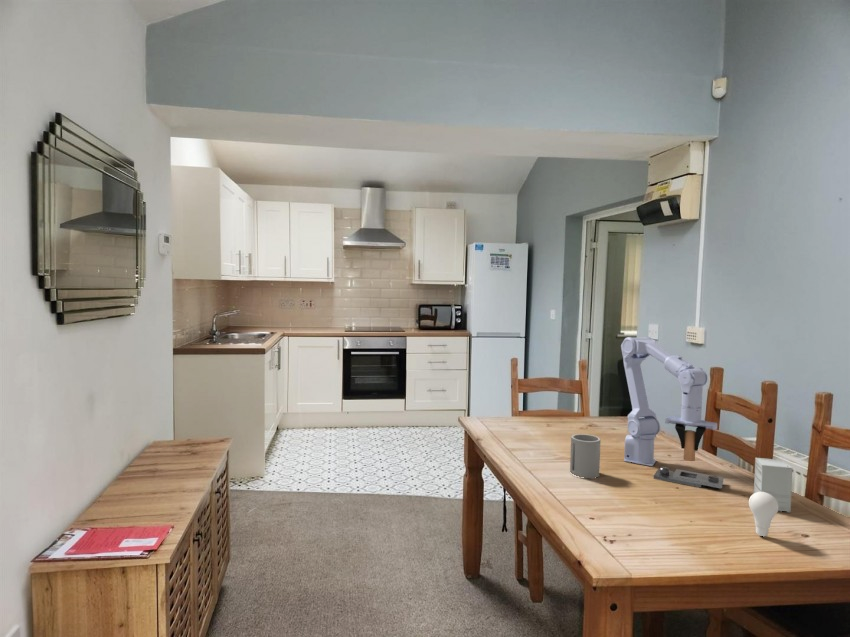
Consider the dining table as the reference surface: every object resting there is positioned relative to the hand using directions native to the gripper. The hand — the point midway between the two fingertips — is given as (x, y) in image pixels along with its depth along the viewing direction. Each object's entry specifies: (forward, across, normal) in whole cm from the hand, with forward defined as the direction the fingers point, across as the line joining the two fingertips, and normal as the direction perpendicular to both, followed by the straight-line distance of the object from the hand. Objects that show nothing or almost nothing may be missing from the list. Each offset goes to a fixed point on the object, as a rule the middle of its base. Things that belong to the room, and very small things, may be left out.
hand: (689, 448), depth 165 cm
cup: (+11, -29, -13) cm, 34 cm away
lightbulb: (+11, +20, -32) cm, 39 cm away
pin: (+3, 0, 0) cm, 3 cm away
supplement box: (+11, +22, -8) cm, 26 cm away
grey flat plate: (+10, 0, 0) cm, 10 cm away
